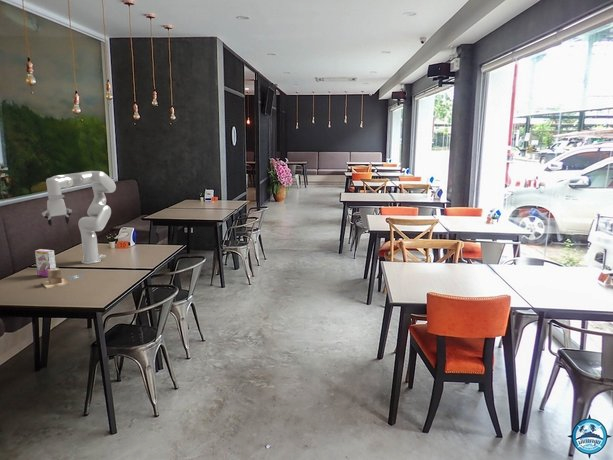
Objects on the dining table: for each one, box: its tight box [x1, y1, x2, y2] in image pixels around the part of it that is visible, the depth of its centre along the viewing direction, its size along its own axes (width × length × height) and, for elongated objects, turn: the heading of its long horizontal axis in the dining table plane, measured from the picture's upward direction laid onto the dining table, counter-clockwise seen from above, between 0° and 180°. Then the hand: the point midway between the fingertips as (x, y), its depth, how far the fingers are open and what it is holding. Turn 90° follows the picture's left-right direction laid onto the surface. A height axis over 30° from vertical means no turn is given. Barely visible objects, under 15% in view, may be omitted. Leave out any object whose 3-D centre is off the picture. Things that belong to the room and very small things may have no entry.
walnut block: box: [47, 267, 63, 285], centre depth 282 cm, size 6×6×8 cm
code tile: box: [66, 273, 86, 281], centre depth 296 cm, size 9×9×1 cm
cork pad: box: [41, 278, 70, 289], centre depth 282 cm, size 12×12×1 cm
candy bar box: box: [34, 248, 57, 278], centre depth 298 cm, size 11×5×16 cm, turn 71°
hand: (58, 224), depth 302 cm, fingers open, 9 cm apart
